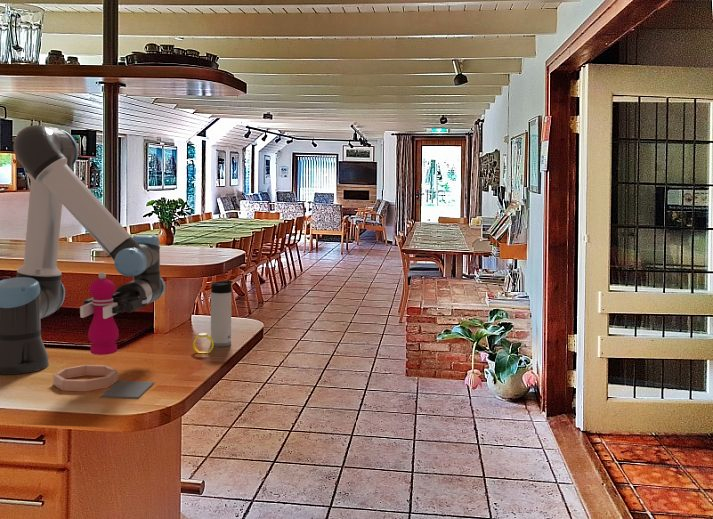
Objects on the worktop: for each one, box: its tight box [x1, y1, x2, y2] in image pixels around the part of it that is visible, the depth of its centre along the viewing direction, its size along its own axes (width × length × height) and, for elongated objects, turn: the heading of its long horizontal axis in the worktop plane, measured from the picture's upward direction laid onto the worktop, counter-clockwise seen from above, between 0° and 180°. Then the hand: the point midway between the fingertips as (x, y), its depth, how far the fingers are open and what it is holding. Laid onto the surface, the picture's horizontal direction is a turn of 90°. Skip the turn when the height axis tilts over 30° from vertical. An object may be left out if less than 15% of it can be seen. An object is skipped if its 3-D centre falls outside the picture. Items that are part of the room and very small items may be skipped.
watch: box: [192, 332, 215, 355], centre depth 208 cm, size 6×3×6 cm, turn 88°
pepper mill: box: [87, 272, 120, 356], centre depth 174 cm, size 7×7×20 cm
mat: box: [100, 380, 155, 400], centre depth 172 cm, size 9×12×1 cm
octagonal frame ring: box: [52, 364, 119, 392], centre depth 177 cm, size 14×14×2 cm
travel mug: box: [210, 280, 233, 348], centre depth 218 cm, size 6×7×20 cm
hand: (93, 312), depth 168 cm, fingers closed on pepper mill, 5 cm apart
